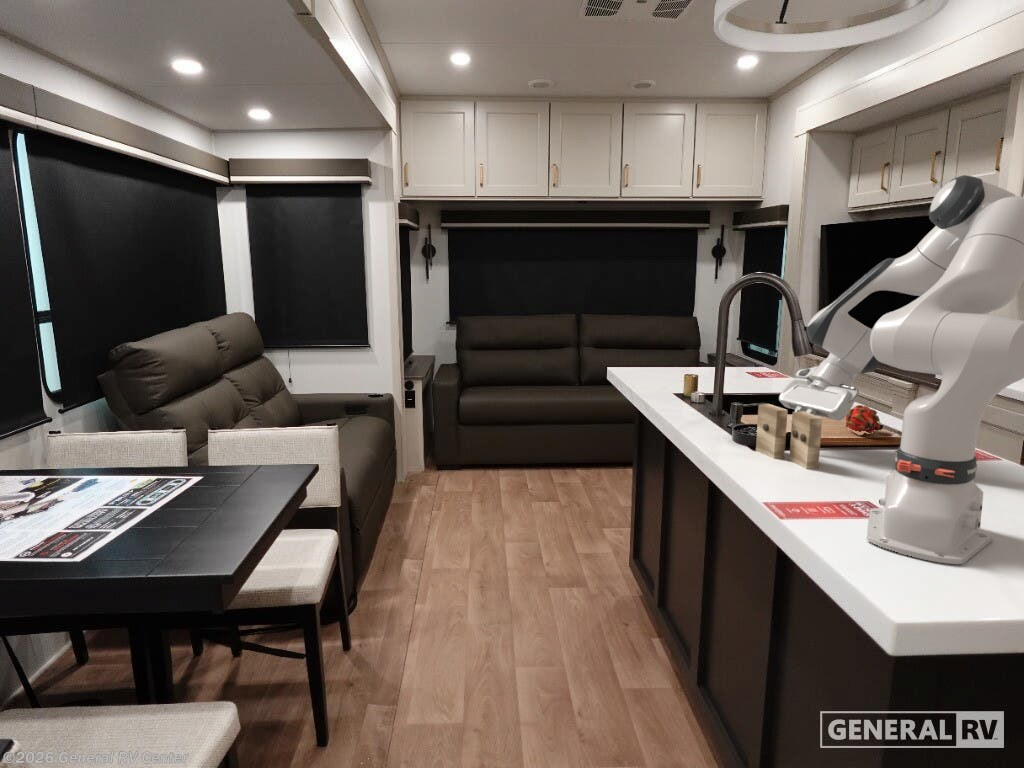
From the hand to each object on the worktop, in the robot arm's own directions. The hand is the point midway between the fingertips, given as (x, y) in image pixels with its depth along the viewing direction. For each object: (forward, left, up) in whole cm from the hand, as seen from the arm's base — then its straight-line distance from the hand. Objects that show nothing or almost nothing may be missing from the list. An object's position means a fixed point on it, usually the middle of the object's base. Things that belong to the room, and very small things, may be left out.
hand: (796, 424), depth 162 cm
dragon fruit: (+29, -9, -7) cm, 31 cm away
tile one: (-5, +4, -7) cm, 10 cm away
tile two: (-8, -5, -7) cm, 12 cm away
